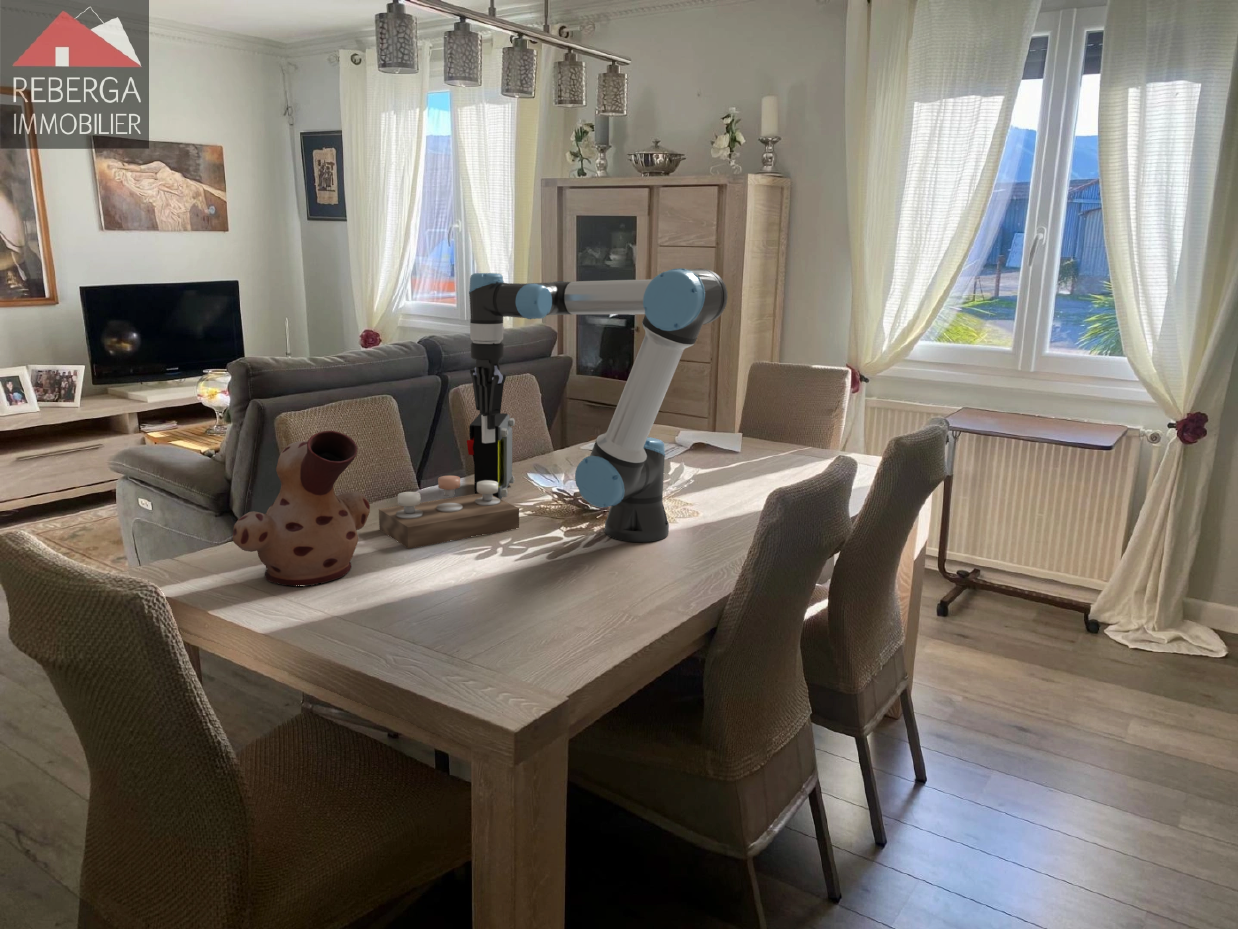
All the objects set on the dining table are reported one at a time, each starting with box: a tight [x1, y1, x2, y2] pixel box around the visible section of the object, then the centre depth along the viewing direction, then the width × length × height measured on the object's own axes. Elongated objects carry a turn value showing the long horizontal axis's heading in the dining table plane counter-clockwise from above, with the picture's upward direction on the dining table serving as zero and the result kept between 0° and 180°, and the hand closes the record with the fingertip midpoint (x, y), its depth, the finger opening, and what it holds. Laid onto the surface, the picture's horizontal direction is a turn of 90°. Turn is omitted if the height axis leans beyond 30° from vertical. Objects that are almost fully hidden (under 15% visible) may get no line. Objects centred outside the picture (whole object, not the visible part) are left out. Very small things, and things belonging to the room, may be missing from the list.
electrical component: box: [466, 412, 516, 500], centre depth 246 cm, size 18×10×20 cm, turn 179°
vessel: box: [232, 430, 371, 587], centre depth 182 cm, size 29×22×30 cm
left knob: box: [397, 491, 421, 513], centre depth 209 cm, size 5×5×4 cm
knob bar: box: [378, 493, 520, 550], centre depth 216 cm, size 16×28×6 cm, turn 127°
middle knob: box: [437, 475, 461, 497], centre depth 214 cm, size 5×5×4 cm
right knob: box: [477, 480, 498, 501], centre depth 220 cm, size 5×5×4 cm
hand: (488, 442), depth 217 cm, fingers closed
